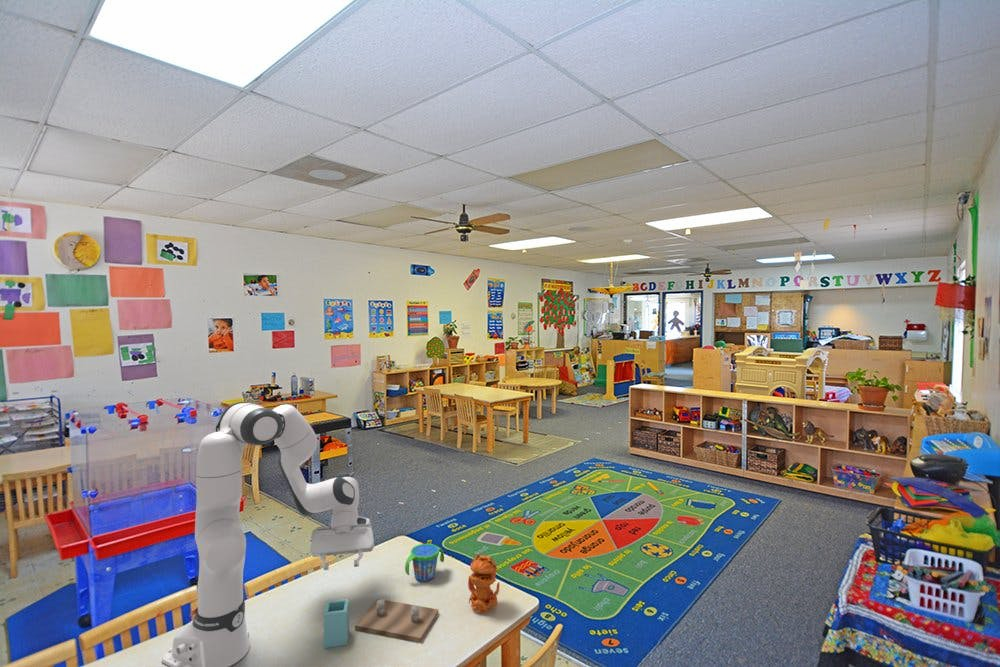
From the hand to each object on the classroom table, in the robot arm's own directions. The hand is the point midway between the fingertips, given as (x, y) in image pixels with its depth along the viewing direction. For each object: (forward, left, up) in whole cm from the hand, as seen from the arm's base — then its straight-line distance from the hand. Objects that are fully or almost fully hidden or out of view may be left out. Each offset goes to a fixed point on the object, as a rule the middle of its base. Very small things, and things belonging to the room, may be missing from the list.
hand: (341, 567), depth 150 cm
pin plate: (+20, +1, -15) cm, 25 cm away
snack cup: (+18, +27, -15) cm, 36 cm away
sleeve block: (+6, -11, -15) cm, 20 cm away
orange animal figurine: (+44, +15, -15) cm, 49 cm away
